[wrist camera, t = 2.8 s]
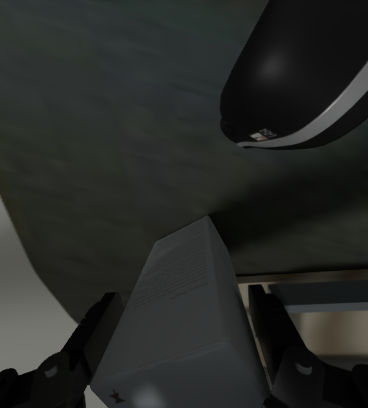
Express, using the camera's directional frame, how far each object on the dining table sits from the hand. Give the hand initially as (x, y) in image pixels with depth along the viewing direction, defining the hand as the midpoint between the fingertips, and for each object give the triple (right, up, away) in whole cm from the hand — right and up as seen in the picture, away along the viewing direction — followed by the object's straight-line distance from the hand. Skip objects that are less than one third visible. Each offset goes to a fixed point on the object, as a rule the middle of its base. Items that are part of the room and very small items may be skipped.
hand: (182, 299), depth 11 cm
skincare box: (+1, +2, +7) cm, 7 cm away
